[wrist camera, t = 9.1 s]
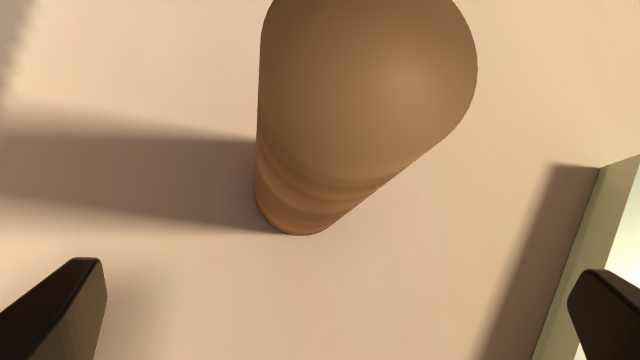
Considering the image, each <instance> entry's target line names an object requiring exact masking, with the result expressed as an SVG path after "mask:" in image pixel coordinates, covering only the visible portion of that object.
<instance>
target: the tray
mask: <svg viewBox="0 0 640 360" xmlns="http://www.w3.org/2000/svg"><path fill="white" fill-rule="evenodd" d="M585 269H607V270H609V271H611V272H613V273H615V274H616V275H618V276H620V277H621V278H623V279H625V280H626V281H628V282H630V283H632V284H633V285H635V286H637V287H638V288H640V154H639V155H636V156H634V157H631V158H628V159H625V160H622V161H619V162H616V163H613V164H610V165H607V166H604V167H601V168H600V171H599V174H598V177H597V179H596V182H595V185H594V188H593V190H592V193H591V196H590V199H589V202H588V204H587V207H586V210H585V213H584V215H583V218H582V221H581V224H580V226H579V229H578V232H577V235H576V238H575V240H574V243H573V246H572V249H571V251H570V254H569V257H568V260H567V262H566V265H565V268H564V271H563V274H562V276H561V279H560V282H559V285H558V287H557V290H556V293H555V296H554V298H553V301H552V304H551V307H550V310H549V312H548V315H547V318H546V321H545V323H544V326H543V329H542V332H541V334H540V337H539V340H538V343H537V345H536V348H535V351H534V354H533V357H532V359H531V360H586V357H585V354H584V352H583V349H582V347H581V344H580V341H579V339H578V336H577V334H576V331H575V328H574V326H573V323H572V321H571V318H570V315H569V313H568V310H567V298H568V295H569V294H570V292H571V290H572V288H573V286H574V285H575V283H576V281H577V279H578V277H579V276H580V274H581V272H582V271H584V270H585Z"/></svg>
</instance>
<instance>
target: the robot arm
mask: <svg viewBox="0 0 640 360" xmlns="http://www.w3.org/2000/svg"><path fill="white" fill-rule="evenodd" d="M106 302H107V290H106V284H105V279H104V273H103V268H102V263H101V261H100V260H99V259H98V258H90V257H76V258H72V259H70V260H69V261H68V262H66V263H65V264H64V265H62V266H61V267H60V268H58V269H57V270H56V271H54V272H53V273H52V274H51V275H49V276H48V277H47V278H45V279H44V280H43V281H41V282H40V283H39V284H37V285H36V286H35V287H33V288H32V289H31V290H29V291H28V292H27V293H26V294H24V295H23V296H22V297H20V298H19V299H18V300H16V301H15V302H14V303H12V304H11V305H10V306H8V307H7V308H6V309H4V310H3V311H2V312H1V313H0V360H93V357H94V353H95V349H96V345H97V341H98V337H99V333H100V328H101V324H102V320H103V316H104V312H105V308H106ZM567 310H568V313H569V315H570V318H571V321H572V323H573V326H574V328H575V331H576V334H577V336H578V339H579V341H580V344H581V347H582V349H583V352H584V354H585V357H586V360H640V288H638V287H637V286H635V285H633V284H632V283H630V282H628V281H626V280H625V279H623V278H621V277H620V276H618V275H616V274H615V273H613V272H611V271H609V270H607V269H585V270H584V271H582V272H581V274H580V276H579V277H578V279H577V281H576V283H575V285H574V286H573V288H572V290H571V292H570V294H569V295H568V298H567Z"/></svg>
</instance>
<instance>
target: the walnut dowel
mask: <svg viewBox="0 0 640 360" xmlns="http://www.w3.org/2000/svg"><path fill="white" fill-rule="evenodd" d="M477 72H478V66H477V54H476V49H475V44H474V40H473V37H472V34H471V31H470V29H469V27H468V25H467V23H466V20H465V19H464V17H463V15H462V14H461V12H460V10H459V9H458V7H457V6H456V5H455V4H454V2H453V1H452V0H273V2H272V4H271V6H270V7H269V9H268V12H267V14H266V17H265V20H264V23H263V28H262V32H261V43H260V64H259V87H258V111H257V135H256V159H255V183H254V193H255V199H256V203H257V206H258V208H259V210H260V212H261V214H262V215H263V216H264V218H265V219H266V220H267V221H268V222H269V223H270V224H271V225H272V226H274V227H275V228H277V229H278V230H280V231H282V232H285V233H288V234H291V235H298V236H305V235H312V234H316V233H319V232H321V231H323V230H325V229H327V228H328V227H329V226H331V225H332V224H333V223H335V222H336V221H337V220H339V219H340V218H341V217H343V216H344V215H345V214H347V213H348V212H349V211H350V210H352V209H353V208H354V207H356V206H357V205H358V204H360V203H361V202H362V201H363V200H365V199H366V198H367V197H369V196H370V195H371V194H373V193H374V192H375V191H376V190H378V189H379V188H380V187H382V186H383V185H384V184H386V183H387V182H388V181H390V180H391V179H392V178H393V177H395V176H396V175H397V174H399V173H400V172H401V171H403V170H404V169H405V168H406V167H408V166H409V165H410V164H412V163H413V162H414V161H416V160H417V159H418V158H420V157H421V156H422V155H423V154H425V153H426V152H427V151H429V150H430V149H431V148H433V147H434V146H435V145H436V144H438V143H439V142H440V141H442V140H443V139H444V138H446V137H447V136H448V135H449V134H450V133H451V132H452V131H453V130H454V129H455V128H456V126H457V125H458V124H459V123H460V121H461V120H462V119H463V117H464V115H465V114H466V112H467V110H468V108H469V106H470V104H471V101H472V98H473V96H474V92H475V87H476V83H477Z"/></svg>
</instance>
